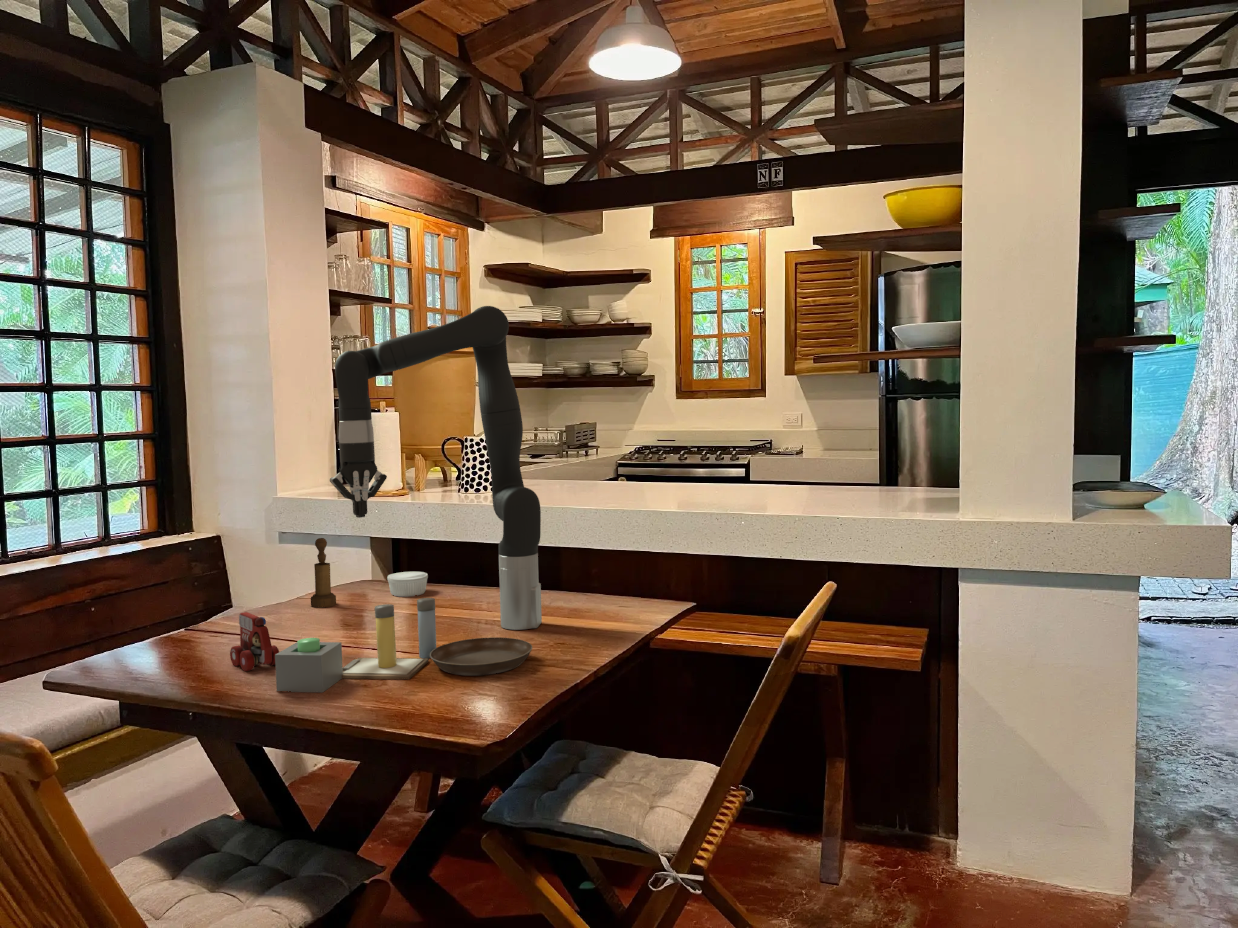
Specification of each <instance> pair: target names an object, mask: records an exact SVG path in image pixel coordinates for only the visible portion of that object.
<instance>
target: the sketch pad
mask: <svg viewBox="0 0 1238 928" xmlns="http://www.w3.org/2000/svg"><path fill="white" fill-rule="evenodd" d="M396 661H397V665H396V666H394V667H389V668H380V667H378V657H358V658H357V659H353V660H351V661H350V662H349V663H347V664H346V665H345V666H342V667H343V675H342V679H350V680H351V679H355V680H357V679H358V680H361V679H363V680H365V679H366V680H371V679H372V680H410V679H411V678H412V677H413V676H414V675H416V674H417V673H418V672H419V671H420V670H421V669H422V668H423V667H424V666H425V665H427V664H428V663H429V661H430V658H420V657H418V658H416V657H415V658H414V657H413V658H410V657H409V658H408V657H407V658H404V657H396Z"/></svg>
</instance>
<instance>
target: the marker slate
mask: <svg viewBox="0 0 1238 928" xmlns="http://www.w3.org/2000/svg"><path fill="white" fill-rule="evenodd" d="M416 609H417V630H418V631H417V633H418V655H419V656H418V658H423V659H431V657H430V653H431V651H432V650H434V649H435V648H437V629H436V628H437V626H436V621H437V620H436V598H433V597H423V598H418V599H416Z"/></svg>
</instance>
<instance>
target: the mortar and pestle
mask: <svg viewBox="0 0 1238 928" xmlns="http://www.w3.org/2000/svg"><path fill="white" fill-rule="evenodd" d="M326 539H327V538H324V537H318V538H317V539H316V540H315V542H314V546H315V548H316V549H317V550H318V554H317V560H318V562H317V563H316V562H315V563H314V567H313V568H314V588H315V590H314V591H315V593H314V594H313V595H312V596H311V597H310V607H312V608H329V607H333V606H334V607H335V606H336V605H337V596H336V594H335V593H334V592H332V587H331V583H332V582H331V563H330V562H326V560H327V554H326V553H325V550H326V547H327V545H328V541H327V540H326Z"/></svg>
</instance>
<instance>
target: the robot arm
mask: <svg viewBox="0 0 1238 928" xmlns="http://www.w3.org/2000/svg"><path fill="white" fill-rule="evenodd" d="M509 327H510V325H509V320H508V317H507V316H506V313H504V312H503V311H502V309H500V308H498V307H496V306H492V305H483V306H480V307H478V308H476V309H475V310H474V311H472V312H470V313H468V314H466V315H465V316H462V317H460V318H458V319H456V320H454V321H451V322H448V323H445V324H442V325H439V326H436V327H433V328H427V329H423V330H419V331H415V332H411V333H407V334H404V335H401V336H396V337H393V338H390V339H387V340H384V341H381V342H379V343H378V344H376V345H374V346H370V347H365V348H362V349H358V350H346V351H343V352H342V353H340V354H339V355H338V357H337V358H336V360H335V363H334V364H335V365H334V375H335V382H336V389H337V394H338V419H339V420H338V421H339V423H338V425H339V426H338V444H339V463H340V465H339V469H338V473H337V474H335V476H334V477H330V478H329V482H330V484H331V485H332V486H334V488H335V489H336V490H337V491H338V492H339V493H340V495H341V496H342V497H343V498H344V499H347V500H350V501H352V513H353V515H354V516H355V518H359V519H360V518H365V517H366V515H367V514H368V500H369V499H371V498H375V496H376V494H377V493H378V492H379V491H380V489H381V487H382V486H383V484H385V483H384V482H386V480H387V478H388V477H387V475H386V474H385V473H383V472H381V471H379V470H378V466H377V464H376V455H375V436H374V435H375V433H374V427H373V419H372V404H371V399H370V396H369V380H370V379H373V378H376V377H378V376H382V375H383V374H386V373H391V372H395V371H398V370H403V369H406V368H410V367H412V366H416V365H419V364H421V363H425V362H427V361H429V360H433V359H434V358H437V357H439V356H440V357H441V356H442V355H446V354H448V353H452V352H455V351H459V350H464V349H470V348H472V351H473V354H474V358H475V359H474V360H475V363H476V367H477V378H478V379H477V382H478V383H477V385H478V386H477V387H478V400H479V410H480V411H479V412H480V417H481V424H482V425H481V426H482V428H483V429H482V431H483V434H484V438H485V439H484V441H485V445H486V446H485V447H486V451H487V457H488V461H489V466H490V467H489V468H490V474H491V491H492V492H491V493H492V494H491V496H492V507H493V511H494V513H495V515H496V516H497V518H498V519H499V520H500V521H502V524H503V525H502V531H503V532H502V538H501V540H500V541H499V543H498V570H499V571H498V577H499V606H500V609H499V610H500V611H499V613H500V627H501V628H503V629H506V630H513V631H514V630H515V631H516V630H517V631H519V630H528V629H538V627H539V626H540V625H541V623H543V619H542V589H541V588H542V585H541V584H542V583H540V582H539V557H538V556H539V544H540V541H541V532H542V531H541V525H542V524H541V523H542V522H541V521H542V520H541V518H542V517H541V516H542V515H541V510H542V509H541V502H540V498H539V497H538V495H537V493H536V492H535V491H534V490H533V489H530V488H529V487H525V484H524V480H523V475H522V471H521V458H520V456H521V449H522V442H523V433H524V427H523V418H522V413H521V406H520V401H519V397H518V391H517V390H516V386H515V382H514V380H513V377H512V374H511V371H510V370H511V369H510V366H509V360H508V352H507V351H508V350H507V335H508V333H509V329H510V328H509ZM373 479H374V481H373V483H372V484H371V485H370V483H371V482H372V480H373ZM344 481H345V483H346V484H348V487H349V489H348V488H347V487H345V485H344V484H343V483H344ZM369 485H370V487H369Z"/></svg>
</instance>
